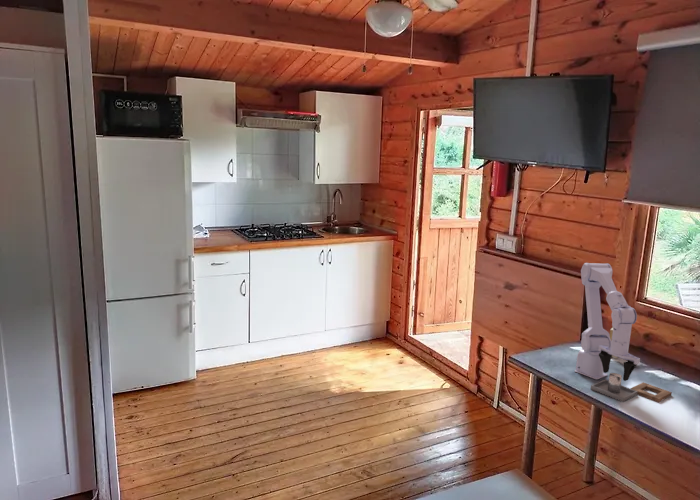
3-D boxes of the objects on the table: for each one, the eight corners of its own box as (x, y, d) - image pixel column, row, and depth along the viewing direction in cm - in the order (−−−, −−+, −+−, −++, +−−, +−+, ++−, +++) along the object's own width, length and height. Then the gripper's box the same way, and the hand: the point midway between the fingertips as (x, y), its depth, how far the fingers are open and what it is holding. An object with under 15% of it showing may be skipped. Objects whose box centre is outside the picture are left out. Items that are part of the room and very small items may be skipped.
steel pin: (605, 389, 193) (607, 373, 192) (612, 387, 195) (614, 372, 194) (614, 393, 189) (616, 378, 188) (622, 392, 191) (624, 376, 190)
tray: (590, 389, 194) (590, 385, 193) (604, 383, 200) (605, 379, 199) (623, 402, 184) (623, 398, 184) (636, 395, 190) (637, 391, 190)
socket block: (629, 391, 193) (630, 388, 193) (642, 385, 199) (643, 382, 199) (658, 402, 185) (659, 399, 185) (671, 395, 191) (671, 392, 191)
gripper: (646, 345, 184) (641, 381, 187) (608, 332, 196) (603, 366, 199) (635, 348, 181) (630, 385, 183) (596, 335, 193) (592, 370, 195)
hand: (615, 376), depth 191 cm, fingers open, 7 cm apart
